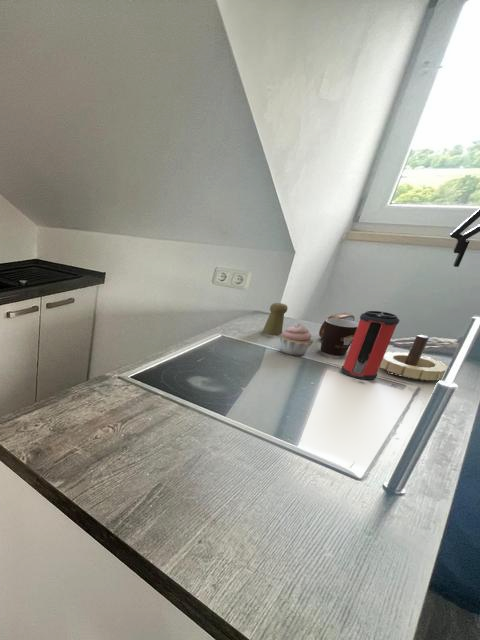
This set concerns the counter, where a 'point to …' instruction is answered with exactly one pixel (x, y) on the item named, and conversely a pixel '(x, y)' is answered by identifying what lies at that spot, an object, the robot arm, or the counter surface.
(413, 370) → the tape
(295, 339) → the cupcake
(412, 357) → the peg stand
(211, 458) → the counter surface
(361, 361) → the speaker
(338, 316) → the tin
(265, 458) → the counter surface
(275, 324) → the cork
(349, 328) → the coffee mug
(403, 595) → the counter surface
